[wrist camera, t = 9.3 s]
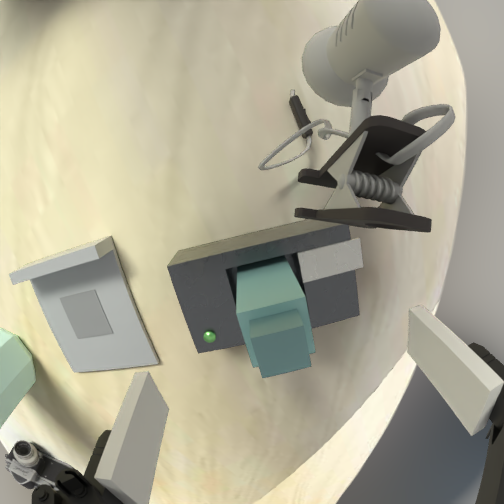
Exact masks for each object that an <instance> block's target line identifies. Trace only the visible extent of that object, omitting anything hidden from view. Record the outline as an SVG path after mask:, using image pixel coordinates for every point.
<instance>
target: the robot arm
mask: <svg viewBox="0 0 504 504" xmlns="http://www.w3.org/2000/svg"><path fill="white" fill-rule="evenodd" d="M407 352H408V354H409V355H410V356H411V357H412V359H413V360H414V361H415V362H416V364H417V365H418V366H419V367H420V368H421V370H422V371H423V372H424V374H425V375H426V376H427V377H428V379H429V380H430V381H431V383H432V384H433V385H434V386H435V388H436V389H437V390H438V392H439V393H440V394H441V396H442V397H443V398H444V399H445V401H446V402H447V403H448V405H449V406H450V407H451V409H452V410H453V411H454V413H455V414H456V416H457V417H458V418H459V419H460V421H461V422H462V424H463V425H464V426H465V428H466V429H467V431H468V432H469V433H470V435H471V436H472V435H474V434H475V433H477V432H479V431H480V430H482V429H483V428H485V426H486V424H487V422H488V420H489V419H490V420H491V421H492V423H493V424H492V426H491V428H490V430H489V432H488V434H487V437H486V439H488V437H489V436H490V439H489V446H488V452H487V458H486V463H485V468H484V472H483V476H482V481H481V485H480V489H479V493H478V496H477V500H476V503H475V504H504V365H503V364H502V363H500V362H499V361H498V360H497V359H495V357H494V356H493V355H492V354H490V353H489V351H487V350H486V349H485V348H484V347H483V346H481V345H478V344H476V343H472V344H470V345H468V346H467V345H466V344H465V343H464V342H463V341H462V340H461V339H460V338H459V337H457V336H456V335H455V334H454V333H453V332H452V331H451V330H450V329H448V328H447V327H446V326H445V325H444V324H443V323H442V322H441V321H440V320H439V319H437V318H436V317H435V316H434V315H433V314H432V313H431V312H429V311H428V310H427V309H426V308H425V307H424V306H423V305H419V306H416V307H414V308H411V309H409V332H408V351H407ZM168 411H169V408H168V406H167V404H166V402H165V401H164V399H163V397H162V395H161V393H160V392H159V390H158V388H157V386H156V384H155V382H154V381H153V379H152V377H151V375H150V373H149V371H145V372H137V373H135V375H134V377H133V379H132V382H131V384H130V386H129V389H128V391H127V394H126V396H125V398H124V401H123V403H122V406H121V408H120V411H119V413H118V416H117V418H116V421H115V423H114V426H113V428H112V430H105V431H104V432H103V434H102V435H101V436H100V437H99V438H98V441H97V443H96V446H95V447H96V448H94V451H93V455H92V456H91V458H90V461H89V463H88V466H87V469H86V471H85V474H84V476H83V475H82V474H81V473H80V472H79V471H78V470H76V469H74V468H67V469H64V470H62V471H61V472H59V474H58V475H57V476H56V479H55V486H56V487H57V488H58V489H59V490H57V491H55V490H54V489H53V488H52V487H51V486H49V485H47V484H42V485H39V486H37V487H36V488H35V489H34V491H33V493H32V504H149V500H150V495H151V489H152V484H153V480H154V475H155V470H156V465H157V460H158V456H159V451H160V446H161V442H162V437H163V433H164V429H165V424H166V420H167V416H168Z"/></svg>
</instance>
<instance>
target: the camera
mask: <svg viewBox="0 0 504 504" xmlns="http://www.w3.org/2000/svg"><path fill="white" fill-rule="evenodd" d="M6 455H7V456H6ZM5 457H6V463H7V465H6V467H5V468H6V469H7V470H8V471H9V472H11V474H12V475H13V477H14V479H15V480H16V481H17V482H18V483H19V484H21V485H23V486H24V487H26V488H28V489H33V488H36V487H37V486H39V485H42V484H47V485H49V486H51V487H52V488H53V489H54V490H55V491H57V490H59V489H58V488H57V487H56V486H55V479H56V476H57V475H58V474H59V472H61V471H62V470H64V469H67V468H73V467H72V466H71V465H69V464H67V463H65V462H62V461H60V460H57V459H55V458H53V457H50V456H48V455H46V454H44V453H42V452H39V451H37V450H36V448H35V446H34V445H32V444H31V443H28V442H27V441H17V442H16V443H15V445H14V447H13V448H12V450H11V452H10V453H9V455H8V454H5Z"/></svg>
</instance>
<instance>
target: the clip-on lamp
mask: <svg viewBox="0 0 504 504" xmlns="http://www.w3.org/2000/svg"><path fill="white" fill-rule="evenodd" d="M439 40H440V24H439V20H438V16H437V15H436V13H435V11H434V9H433V7H432V6H431V5H430V4H429V2H428V1H427V0H359V1H358V2H357V3H356V4H355V6H354V7H353V8H352V9H351V10H350V12H349V13H348V14H347V15H346V17H345V18H344V19H343V20H342V22H341V23H340V24H339V26H334V27H328V28H326V29H324V30H322V31H320V32H318V33H316V34H315V35H314V36H313V37H312V38H311V40H310V41H309V42H308V43H307V44H306V46H305V50H304V53H303V56H302V69H303V73H304V76H305V78H306V81H307V83H308V84H309V86H310V87H311V88H312V89H313V91H314V92H315V93H316V94H317V95H319V96H320V97H322V98H323V99H324V100H326V101H328V102H330V103H333V104H335V105H338V106H347V107H352V109H351V119H350V128H349V133H346V132H343V131H340V130H336V129H332V125H331V123H330V122H329V121H328V120H324V119H319V120H316V121H313V122H312V123H311V122H310V120H309V119H308V117H307V115H306V112H305V109H303V107H302V104H301V102H300V100H299V97H298V96H297V95H296V96H294V95H295V90H291V94H290V101H289V103H290V106H291V108H292V111H293V113H294V116H295V118H296V121H297V123H298V126H299V128H300V130H299V131H298V132H296V133H295V134H293V135H292V136H291V137H289V138H288V139H287V140H286V141H284V142H283V143H282V144H281V145H279V146H278V147H277V148H276V149H275V150H273V151H272V152H271V153H270V154H269V155H268V156H267V157H266V158H265V159H264V160H263V161H262V162H261V163H260V165H259V167H258V168H259V169H260V170H268V169H272V168H275V167H279V166H281V165H284V164H286V163H289V162H291V161H293V160H295V159H297V158H299V157H301V156H302V155H303V154H304V153H305V152H307V151H308V150H309V149H310V145H311V142H312V141H311V135H312V134H313V131H312V129H311V128H313V127H314V126H316V125H318V124H321V123H324V124H325V128H321V129H319V131H318V136H319V137H320V138H322V139H324V140H327V139H329V138H330V136H331V134H335V135H339V136H342V137H345V138H348V139H347V140H346V141H345V142H344V143H343V144H342V146H341V147H340V148H339V149H338V150H337V151H336V152H335V154H334V155H333V156H332V157H331V158H330V159H329V160H328V161H327V163H326V164H325V165H324V166H323V167H322V168H321V169H320V171H319V170H313V169H302V170H301V171H300V172H299V175H298V181H299V182H301V183H307V184H313V185H319V186H324V187H330V188H335V191H334V192H333V194H332V196H331V198H330V199H329V201H328V203H327V205H326V206H325V208H324V210H313V209H306V208H296V209H295V215H294V217H298V218H305V219H312V220H319V221H325V222H332V223H338V224H344V225H350V226H357V227H363V228H376V227H378V228H386V229H396V230H407V231H418V232H431V221H432V220H431V219H429V218H426V217H422V216H417V215H414V213H413V212H412V210H411V209H410V207H409V206H408V204H407V203H406V201H405V200H404V198H403V197H402V190H403V188H402V187H403V185H404V184H405V182H406V180H407V178H408V176H409V175H410V173H411V171H412V169H413V167H414V165H415V164H416V162H417V160H418V158H419V156H420V154H421V152H422V150H424V149H425V148H426V147H428V146H429V145H430V144H432V143H433V142H434V141H436V140H437V139H438V138H439V137H440V136H442V135H443V134H444V133H445V132H446V131H447V130H448V129H449V128H450V127H451V125H452V124H453V123H454V120H455V114H454V111H453V108H452V106H450V105H446V104H439V105H431V106H426V107H422V108H419V109H416V110H413V111H411V112H410V113H408V114H407V115H405V116H404V117H403V119H402V120H401V121H400V120H397V119H394V118H391V117H387V116H381V115H378V116H371V107H372V100H374V99H375V98H377V97H378V96H379V95H380V94H381V92H382V91H383V90H384V88H385V87H386V85H387V82H388V77H389V75H391V74H393V73H394V72H396V71H398V70H400V69H401V68H403V67H405V66H407V65H408V64H410V63H412V62H414V61H416V60H417V59H419V58H421V57H423V56H425V55H426V54H428V53H429V52H431V51H432V50H433V49H435V48H436V46H437V44H438V43H439ZM439 115H445V116H444V117H443V118H442V119H441V120H440V121H438V122H437V123H436V124H435V125H434V126H433V127H431V128H430V129H429V130H428V131H425V130H423V129H422V128H420V127H417V126H414V124H415V123H417V122H418V121H420V120H422V119H425V118H428V117H433V116H439ZM300 135H302V136H303V138H304V139H306V138H307V145H306V148H305V150H304V151H303V152H301V153H300V154H299V155H298V156H296V157H294V158H292V159H290V160H287V161H284V162H281V163H279V164H275V165H271V166H266V167H264V166H265V164H266V163H267V162H268V161H269V160H270V159H271V158H272V157H274V156H275V155H276V154H277V153H278V152H279V151H281V150H282V149H283V148H284V147H286V146H287V145H288V144H289V143H291V142H292V141H293V140H295V139H296V138H297V137H299V136H300ZM356 196H357V197H359V198H360V197H363V198H365V199H371V200H377V201H379V202H382V203H381V204H380V206H379V207H378V208H374V207H361V206H360V204H359V202H358V200H357V198H356Z"/></svg>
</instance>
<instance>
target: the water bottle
mask: <svg viewBox="0 0 504 504" xmlns="http://www.w3.org/2000/svg"><path fill="white" fill-rule="evenodd" d="M35 382H36V374H35V368H34V364H33V359H32V355H31V353H30V352H29V351H28V349H27V348H26V347H25V345H24V344H23V343H22V341H21V340H20V339H19V337H18V336H17V335H15V334H13V333H11V332H9V331H7V330H5V329H3V328H0V428H1V427H2V425H3V424H4V422H5V421H6V420H7V418H8V417H9V416H10V414H11V413H12V412H13V410H14V409H15V408H16V406H17V405H18V404H19V402H20V401H21V400H22V398H23V397H24V396H25V394H26V393H27V392H28V391H29V389H30V388H31V387H32V385H33V384H34V383H35Z"/></svg>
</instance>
